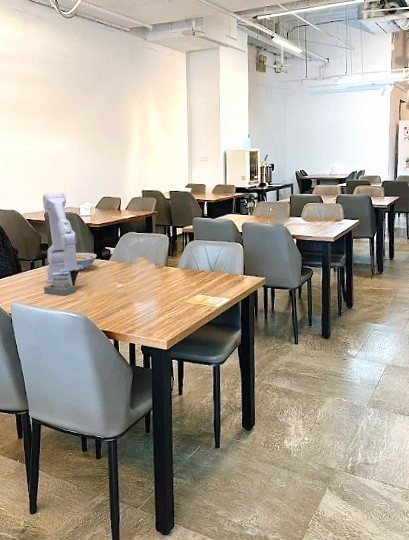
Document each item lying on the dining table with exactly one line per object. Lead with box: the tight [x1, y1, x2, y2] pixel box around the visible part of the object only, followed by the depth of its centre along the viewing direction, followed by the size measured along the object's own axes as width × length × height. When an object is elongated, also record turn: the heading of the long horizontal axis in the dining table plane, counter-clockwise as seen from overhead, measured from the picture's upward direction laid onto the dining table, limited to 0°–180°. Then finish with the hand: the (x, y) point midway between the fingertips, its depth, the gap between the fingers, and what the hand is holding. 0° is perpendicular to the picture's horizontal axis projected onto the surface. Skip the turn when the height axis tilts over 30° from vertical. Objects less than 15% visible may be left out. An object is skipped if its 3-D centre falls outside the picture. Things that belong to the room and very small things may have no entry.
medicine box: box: [52, 271, 73, 289], centre depth 245 cm, size 8×4×9 cm, turn 95°
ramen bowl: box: [76, 252, 97, 271], centre depth 294 cm, size 25×23×8 cm
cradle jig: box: [43, 283, 77, 297], centre depth 243 cm, size 12×8×3 cm, turn 63°
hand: (72, 286), depth 250 cm, fingers closed
